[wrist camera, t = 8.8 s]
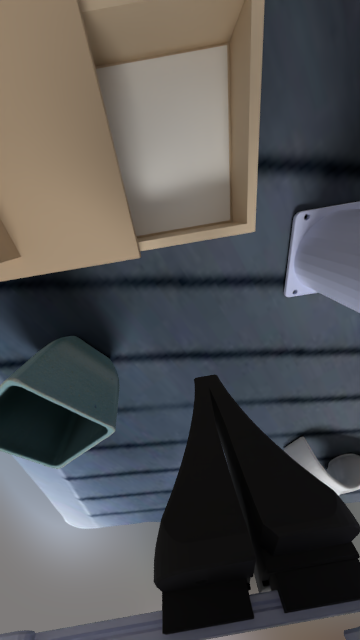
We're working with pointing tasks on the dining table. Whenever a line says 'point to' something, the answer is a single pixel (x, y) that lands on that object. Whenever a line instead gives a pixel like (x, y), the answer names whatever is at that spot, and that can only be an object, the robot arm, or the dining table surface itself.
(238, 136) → the box
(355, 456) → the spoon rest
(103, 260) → the mailer lid
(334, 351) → the dining table surface
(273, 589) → the robot arm
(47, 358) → the flower pot
